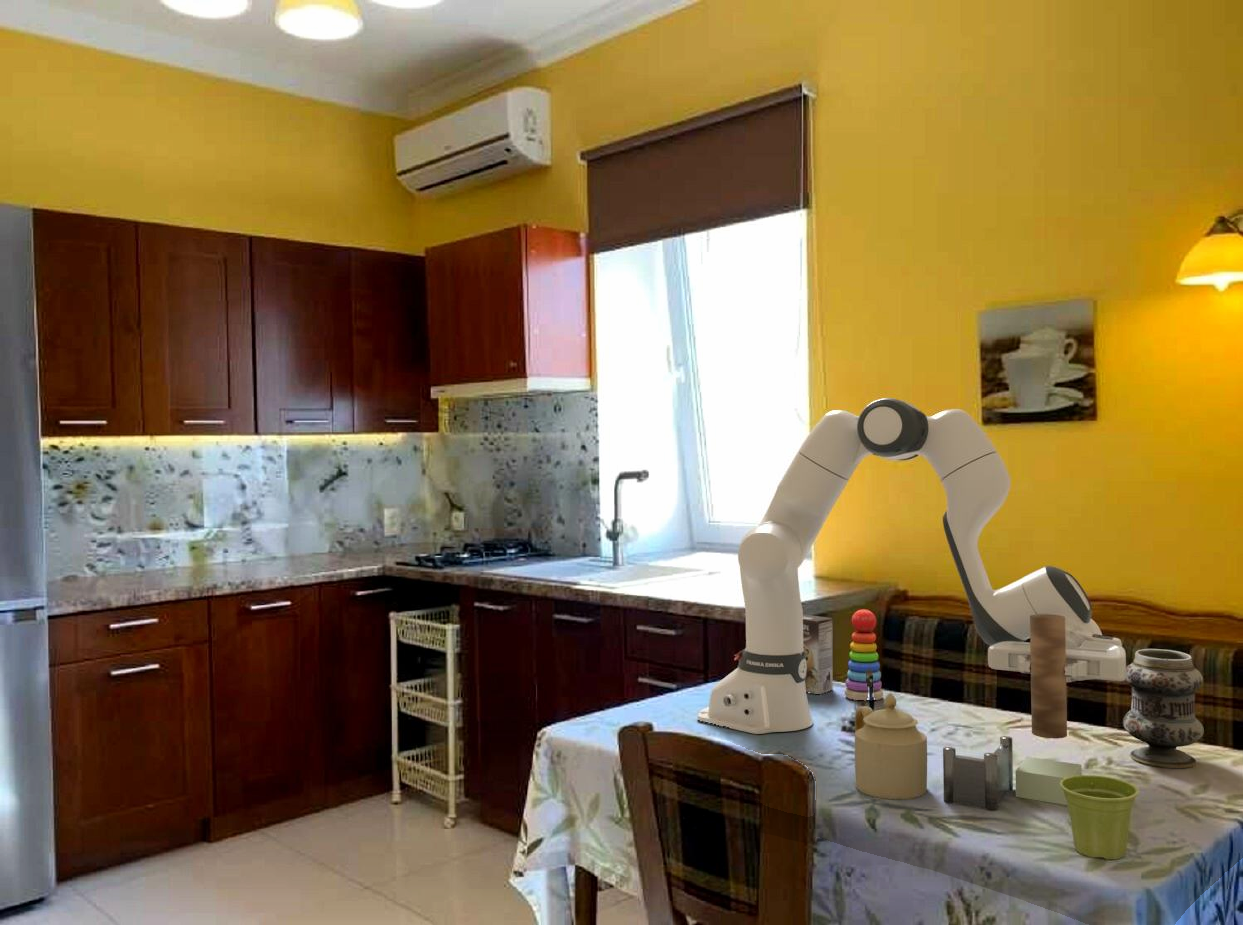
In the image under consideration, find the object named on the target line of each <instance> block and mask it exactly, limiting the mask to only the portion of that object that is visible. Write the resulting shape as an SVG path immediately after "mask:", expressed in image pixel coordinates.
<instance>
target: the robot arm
mask: <svg viewBox="0 0 1243 925" xmlns="http://www.w3.org/2000/svg"><path fill="white" fill-rule="evenodd" d="M870 455H873V456H877V457H879V458H882V459H885V460H888V461H908V460H912V459H915V458H917V457H918V456H921V457H923V458H925V459H926V460H927V462H928V463H929V464H930V466H931V467H932V468H933V470H934V471H935V474H936V475H937V477H938V479H939V481H940V482H941V484H942V486H943V489H944V492H945V494H946V511H945V512H944V514H943V516H942V525H943V531H944V534H945V538H946V541H947V544H948V547H949V550H950V552H951V555H952V558H953V559H952V560H953V562H954V564H955V567H956V570H957V572H958V576H959V578H960V581H961V584H962V587H963V589H964V590H963V591H964V592H965V595H966V599H967V601H968V606H969V609H970V613H971V618H972V620H973V623H974V627H975V630H976V631H977V633H978V635H979V637H980V638H981V640H982V641H983V642H984V643H985V644H986V645H989V647H988V648H987V649H988V651H987V663H988V667H989V668H991V669H993V670H1001V671H1008V672H1010V671H1011V672H1020V673H1021V674H1030V675H1031V654H1030V642H1028V641H1027V640H1029V639H1030V616H1031V615H1035V614H1052V615H1060V616H1064V617H1065V637H1066V665H1065V677H1066V683H1072V682H1076V681H1085V680H1086V681H1087V680H1103V681H1113V682H1124V681H1126V667H1127V655H1126V649H1125V648H1124V647H1123V644H1122V640H1121V639H1120V638H1118V637H1113V636H1108V635H1103V634H1102V631H1101V629H1100V627H1099V625H1098V624H1097V623H1096V621H1094V620H1093V618H1092V616H1093V614H1092V613H1093V608H1092V607H1093V606H1092V604H1091V602H1090V600H1089V597H1088V595H1087V593H1086V591H1085V590H1084V589H1083V587H1082V586H1081V585H1082V584H1080V582H1079V581H1078V580H1077V579H1076V577H1074V576H1073V575H1072V574H1071V573H1069V572H1068V571H1065V569H1062V568H1060V567H1059V568H1058V567H1056V566H1051V565H1046V566H1043V567H1042V568H1039V569H1037V570H1035V571H1033V572H1031V573H1028V574H1027V575H1024V576H1023V577H1022V578H1019V579H1017V580H1016V581H1014V582H1011V583H1009V584H1007V585H1005V586H1003V587H1001V588H998V589H993V587H992V585H991V583H990V579H989V577H988V573H987V571H986V569H985V568H986V567H985V566H984V563H983V561H982V557H981V554H980V552H979V549H978V542H979V537H980V535H981V533H982V531H983V529H984V528H985V527H986V525H987V524H988V522H989V521H990V520H991V519H992V518H993V517H994V516H995V515H996V514H997V513H998V512H999V510H1000V508H1001V507H1003V504H1004V503H1005V501H1006V500H1007V497H1008V495H1009V492H1010V488H1011V476H1010V474H1009V471H1008V469H1007V466H1006V465H1005V463H1004V460H1003V459H1002V457H1001V455H1000V453H999V452H998V451H997V449H996V447H995V445H994V444H993V442H992V441H991V439H990V438H989V436H988V435H987V433H986V432H985V431H984V430H983V428H982V427H981V426H980V425H979V424H978V423H977V421H976V420H975V419H974V417H972V416H971V415H970V414H969V413H968V412H967V411H965V410H964V409H959V408H951V409H946V410H943V411H940V412H938V413H936V414H934V415H932V416H930V415H929V416H927V415H926V414H925V413H924V412H923V411H922V410H920V409H918V407H916V406H915V405H914V404H911V403H909V402H907V401H905V400H901V399H897V398H892V397H885V398H880V399H877V400H874V401H871V402H870V403H869V404H867V405H866V406H865V407H864V408H863V410H862V411H861V413H860V414H859V416H858V415H856V414H855V413H852V412H849V411H847V410H843V409H842V410H841V409H836V410H830V411H828V412H827V413H825V415H823V417H822V418H821V419H820V420H819V421H818V423H816V425H815V426H814V427H813V429H812V430H811V431H810V432H809V434H808V435H807V437H806V438H805V440H804V441H803V442H802V444H801V446H800V447H799V449H798V451H797V452H796V454H795V456H794V457H793V459H792V461H791V463H790V465H789V466H788V468H787V469H786V471H785V473H784V475H783V477H782V478H781V480H780V481H779V483H778V485H777V487H776V491H775V492H774V495H773V497H772V499H771V501H770V504H769V506H768V508H767V510H766V512H765V514H764V516H763V518H762V519H761V521H760V523H759V524H758V526H756V527H754V528H752V529H750V530H749V531H748V532H747V533H746V534H745V535H743V537H742V539H741V541H740V543H739V546H738V552H737V559H738V560H737V561H738V564H739V572H740V573H739V574H740V579H741V580H740V581H741V588H742V589H741V590H742V595H743V601H744V602H743V603H744V609H745V640H746V641H745V648H744V649H742V650H740V651H739V652H738V653H736V654H734V655H733V656H734V657H735V658H734V661H738V665H737V668H735V669H734V670H733V671H732V672H730V673H729V674H728V675H726V676H725V677H724V678H722V679H721V680H720V681H718V682H717V683H716V684H715V685H714V686H713V687H712V689H711V692H710V695H709V702H708V706H707V707H705V708H703V709H701V710H700V711H699V712H698V713H697V721H698V720H700V721H699V722H701V721H707V722H711V723H713V724H712V725H714V724H716V725H715V726H718V725H719V727H723V726H726V727H725V728H727V727H729V729H731V730H737V731H741V732H745V733H750V734H754V735H759V734H760V735H761V734H769V733H781V732H785V733H786V732H794V731H800V730H803V729H807V728H809V727H811V726H812V725H813V724H814V721H813V718H812V715H811V710H810V705H809V701H808V695H807V694H808V693H806V686H805V679H806V669H807V667H806V652H805V650H804V649H803V614H804V613H803V612H804V610H803V606H802V600H801V593H800V582H799V571H798V570H799V568H800V567H801V565H803V562H804V561H805V559H806V557H807V555H808V553H809V552H810V550H811V548H812V546H813V545H814V542H815V541H816V539H817V538H818V536H819V533H820V532H821V530H822V528H823V526H824V524H825V522H826V520H827V518H828V517H829V515H830V513H831V511H832V509H833V508H834V507H835V505H836V503H837V501H838V499H839V498H840V496H841V494H842V493H843V491H844V490H845V487H846V485H848V484H849V481H850V479H851V478H852V475H854V472H855V471H856V469H857V467H858V466H859V464H860V463H861V462H862V461H863V460H864V459H865V458H866V457H869V456H870ZM1026 641H1027V642H1026Z"/></svg>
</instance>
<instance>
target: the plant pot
mask: <svg viewBox="0 0 1243 925" xmlns="http://www.w3.org/2000/svg"><path fill="white" fill-rule="evenodd" d="M1060 787H1061V788H1062V789H1063V790H1064V796H1065V798H1066V799H1067V804H1068V805H1067V808H1068V815H1069V819H1070V825H1071V826H1070V827H1071V832H1072V838H1073V839H1072V840H1073V845H1074V848H1075V850H1076V851H1077V852H1078V853H1079V854H1082V855H1084V856H1086V857H1088V858H1093V859H1094V858H1099V857H1100V858H1104V859H1105V860H1109V859H1113V860H1116V859H1122V858H1123V857H1125V856H1126V853H1127V845H1128V838H1129V831H1130V822H1131V818H1132V810H1133V807H1134V805H1135V800H1136V798H1137V797H1138V796H1139V791H1140V790H1139V789H1138V787H1137V786H1136V785H1134V784H1132V783H1131V782H1128V781H1124V780H1122V779H1118V778H1115V777H1111V776H1110V777H1109V776H1106V775H1105V776H1103V775H1094V774H1093V775H1091V774H1088V775H1087V774H1083V775H1077V776H1070V777H1066V778H1064V779H1062V780H1061V781H1060Z"/></svg>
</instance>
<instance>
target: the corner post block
mask: <svg viewBox="0 0 1243 925" xmlns="http://www.w3.org/2000/svg"><path fill="white" fill-rule="evenodd" d="M1013 749H1014V748H1013V737H1012V736H1008V735H1001V736H999V747H997V749H996V750H994V751H993V752H985V753H983V758H978V757H972V756H964V755H957V754H956V747H951V746H945V747H942V759H943V760H942V762H943V763H942V766H943V767H942V769H943V771H942V772H943V773H942V774H943V776H942V777H943V780H942V782H943V802H944V803H946V804H953V805H955V804H956V805H959V806H965V807H966V806H967V807H973V808H976V809H977V808H978V809H982V810H983V809H984V810H987V811H995V812H996V811H997V810H998V806H999V805H1000V804H1001V803H1002V801H1003V800H1004V799H1005V798H1006V796H1008V793H1010V792H1012V791H1013V790H1014V778H1013V777H1014V776H1013V775H1014V774H1013V772H1014V771H1013V770H1014V765H1013V763H1014V762H1013V761H1014V760H1013V758H1014V757H1013V756H1014V754H1013V752H1014V751H1013Z"/></svg>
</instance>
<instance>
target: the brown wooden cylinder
mask: <svg viewBox="0 0 1243 925" xmlns="http://www.w3.org/2000/svg"><path fill="white" fill-rule="evenodd" d="M1029 639H1030V641H1029V643H1030V654H1031V674H1030V695H1031V696H1030V699H1031V700H1030V702H1031V705H1030V706H1031V707H1030V709H1031V712H1030V714H1031V733H1032V735H1034V736H1036V737H1039V738H1043V739H1064V738H1066V737H1067V736H1068V717H1067V716H1068V713H1067V712H1068V710H1067V709H1068V708H1067V707H1068V706H1067V682H1066V677H1065V665H1066V637H1065V617H1064V616H1060V615H1052V614H1035V615H1031V616H1030V638H1029Z"/></svg>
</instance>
